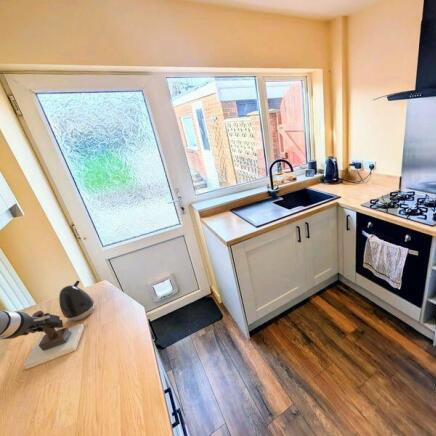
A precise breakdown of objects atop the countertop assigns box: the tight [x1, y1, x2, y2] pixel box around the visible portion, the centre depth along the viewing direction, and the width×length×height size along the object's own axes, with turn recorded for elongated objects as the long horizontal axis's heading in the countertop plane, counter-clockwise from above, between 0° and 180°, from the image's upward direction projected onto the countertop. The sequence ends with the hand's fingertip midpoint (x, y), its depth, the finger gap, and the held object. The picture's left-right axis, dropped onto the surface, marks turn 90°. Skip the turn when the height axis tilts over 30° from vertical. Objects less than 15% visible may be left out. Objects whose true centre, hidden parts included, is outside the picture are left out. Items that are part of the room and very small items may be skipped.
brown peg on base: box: [31, 310, 71, 351], centre depth 87 cm, size 7×5×14 cm
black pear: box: [58, 280, 95, 321], centre depth 102 cm, size 10×10×15 cm
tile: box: [22, 323, 85, 370], centre depth 91 cm, size 14×12×2 cm
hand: (55, 325), depth 92 cm, fingers closed on brown peg on base, 3 cm apart
